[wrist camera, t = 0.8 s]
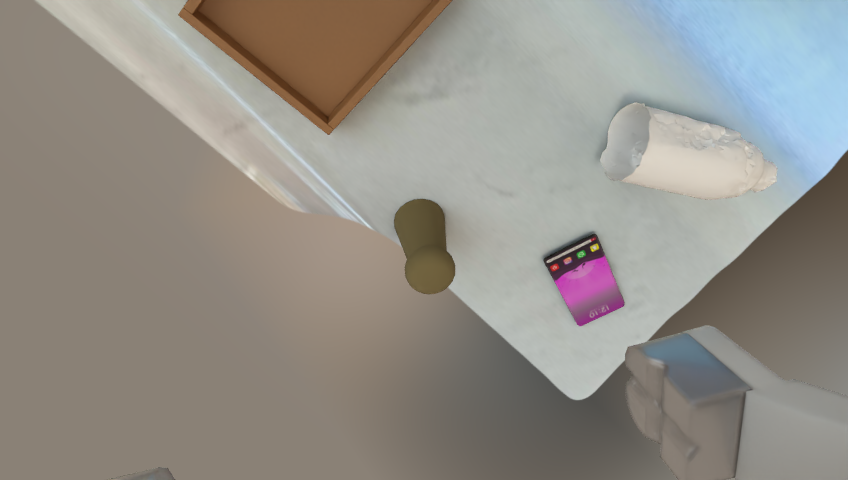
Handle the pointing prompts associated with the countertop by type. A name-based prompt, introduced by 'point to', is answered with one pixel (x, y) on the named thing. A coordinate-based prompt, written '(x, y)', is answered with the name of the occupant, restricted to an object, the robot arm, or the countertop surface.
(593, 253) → the smartphone
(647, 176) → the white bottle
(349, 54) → the tray
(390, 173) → the countertop surface
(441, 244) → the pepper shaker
